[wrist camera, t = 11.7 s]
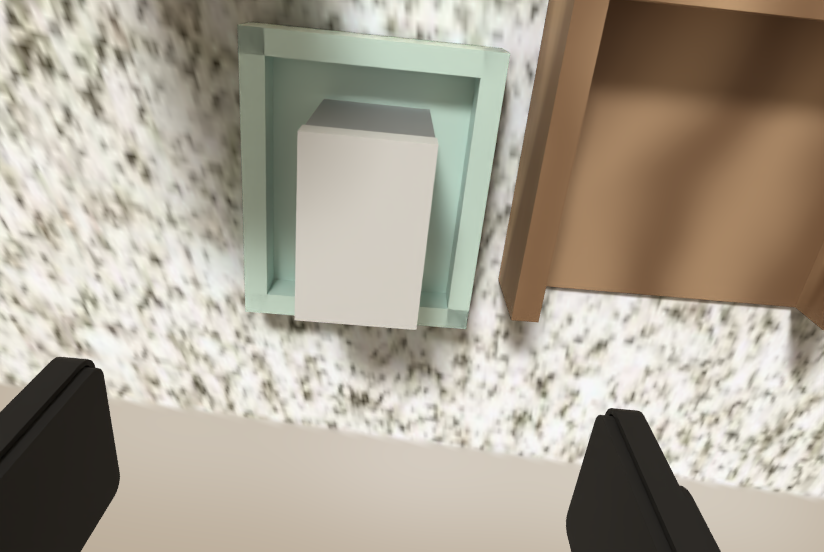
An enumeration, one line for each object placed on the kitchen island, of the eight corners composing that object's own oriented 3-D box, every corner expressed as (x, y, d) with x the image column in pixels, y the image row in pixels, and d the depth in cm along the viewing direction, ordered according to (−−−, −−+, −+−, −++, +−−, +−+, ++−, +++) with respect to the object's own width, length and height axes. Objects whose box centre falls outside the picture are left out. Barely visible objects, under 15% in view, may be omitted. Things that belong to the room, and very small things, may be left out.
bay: (950, 2, 24) (1045, 5, 21) (814, 306, 30) (869, 349, 27) (556, -42, 23) (584, -48, 20) (498, 279, 30) (511, 319, 26)
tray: (502, 48, 25) (510, 53, 23) (462, 306, 30) (465, 329, 28) (251, 21, 24) (237, 25, 22) (256, 289, 30) (245, 311, 28)
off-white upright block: (430, 108, 25) (438, 144, 19) (414, 259, 28) (416, 330, 22) (322, 97, 25) (297, 131, 19) (317, 250, 28) (294, 320, 22)
